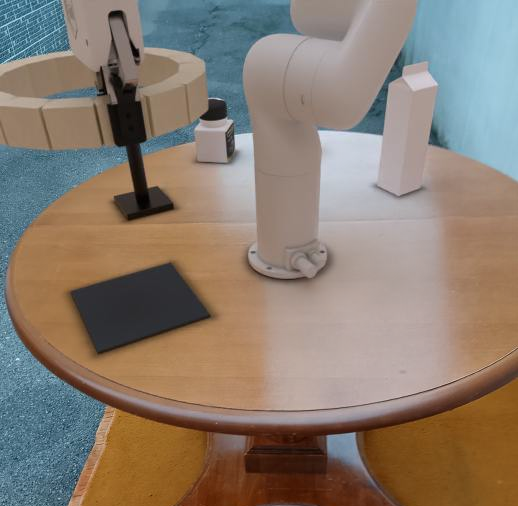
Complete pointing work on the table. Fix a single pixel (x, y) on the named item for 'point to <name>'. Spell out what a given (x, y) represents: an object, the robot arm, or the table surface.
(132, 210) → the post
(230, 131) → the medicine bottle
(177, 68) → the hoop
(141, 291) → the mat
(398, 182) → the milk
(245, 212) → the table surface
